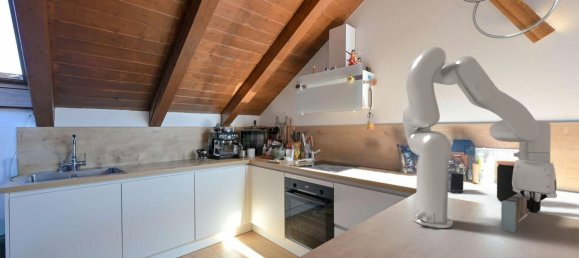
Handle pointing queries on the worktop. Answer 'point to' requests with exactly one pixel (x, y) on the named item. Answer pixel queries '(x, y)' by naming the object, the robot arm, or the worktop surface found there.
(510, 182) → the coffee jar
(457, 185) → the small box
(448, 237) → the worktop surface
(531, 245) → the worktop surface
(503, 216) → the block
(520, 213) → the gate
